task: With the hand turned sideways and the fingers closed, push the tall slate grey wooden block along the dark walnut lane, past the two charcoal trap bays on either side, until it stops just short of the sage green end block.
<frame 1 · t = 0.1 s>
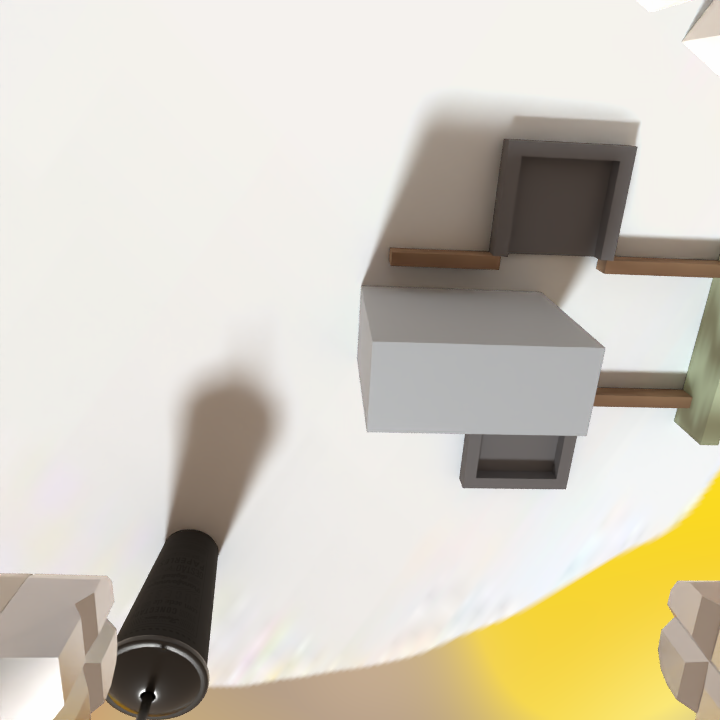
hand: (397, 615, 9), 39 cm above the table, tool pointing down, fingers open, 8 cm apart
lane: (559, 329, 49), on the table
trap bays: (559, 329, 49), on the table
slate block: (447, 325, 49), on the table
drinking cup: (191, 549, 56), on the table
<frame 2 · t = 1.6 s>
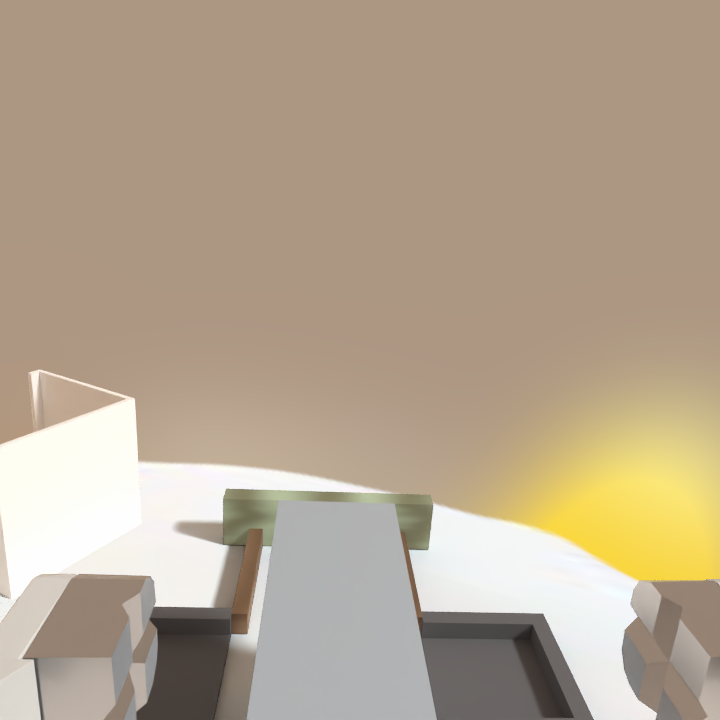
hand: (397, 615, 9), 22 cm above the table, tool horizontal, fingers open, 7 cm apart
lane: (326, 658, 38), on the table
trap bays: (326, 658, 38), on the table
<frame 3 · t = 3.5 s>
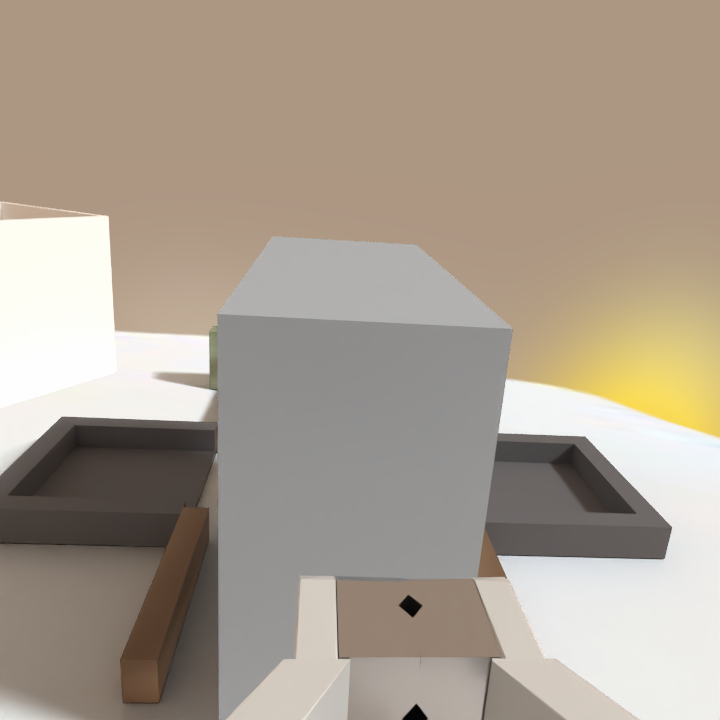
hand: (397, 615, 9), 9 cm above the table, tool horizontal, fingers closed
lane: (330, 474, 31), on the table
trap bays: (330, 474, 31), on the table
slate block: (332, 593, 23), on the table
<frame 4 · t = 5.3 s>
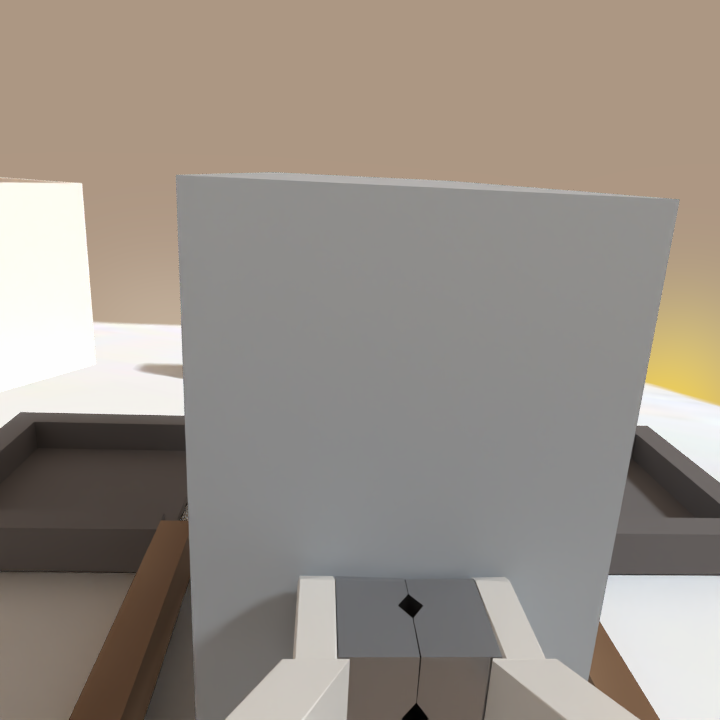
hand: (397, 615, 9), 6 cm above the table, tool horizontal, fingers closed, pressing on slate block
lane: (345, 476, 26), on the table
trap bays: (345, 476, 26), on the table
slate block: (357, 623, 17), on the table, touching gripper
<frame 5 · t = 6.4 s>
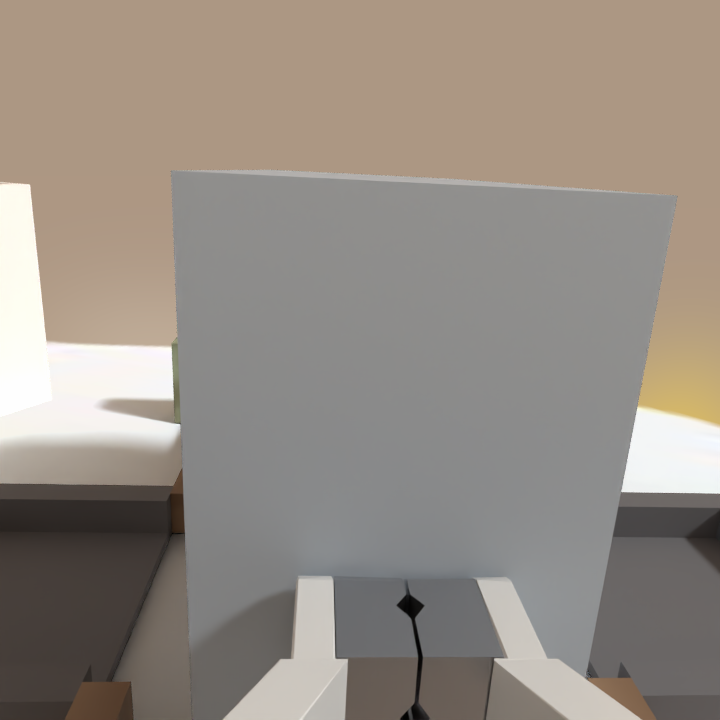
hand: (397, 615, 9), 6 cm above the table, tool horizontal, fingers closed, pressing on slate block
lane: (350, 569, 20), on the table
trap bays: (350, 569, 20), on the table
slate block: (355, 621, 17), on the table, touching gripper
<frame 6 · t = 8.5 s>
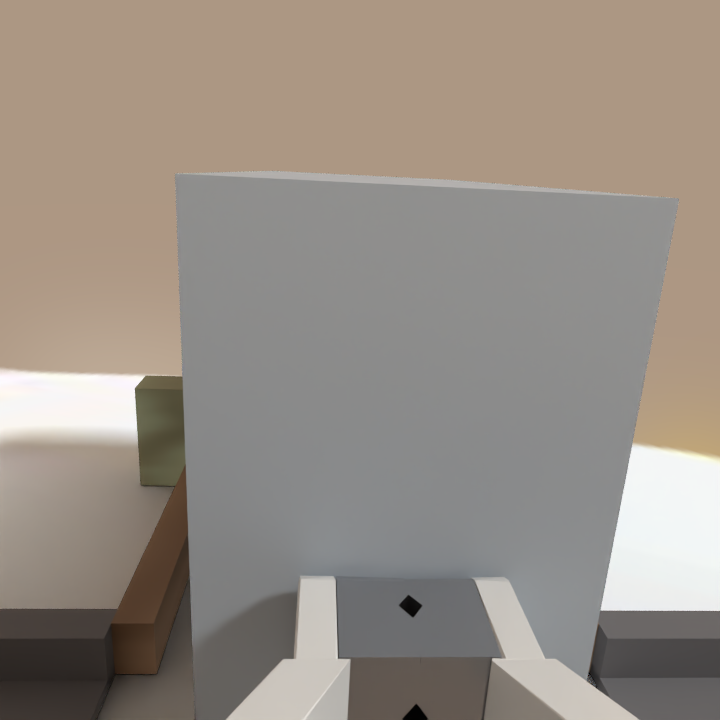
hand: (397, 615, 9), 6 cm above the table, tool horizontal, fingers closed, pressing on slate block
slate block: (356, 621, 17), on the table, touching gripper
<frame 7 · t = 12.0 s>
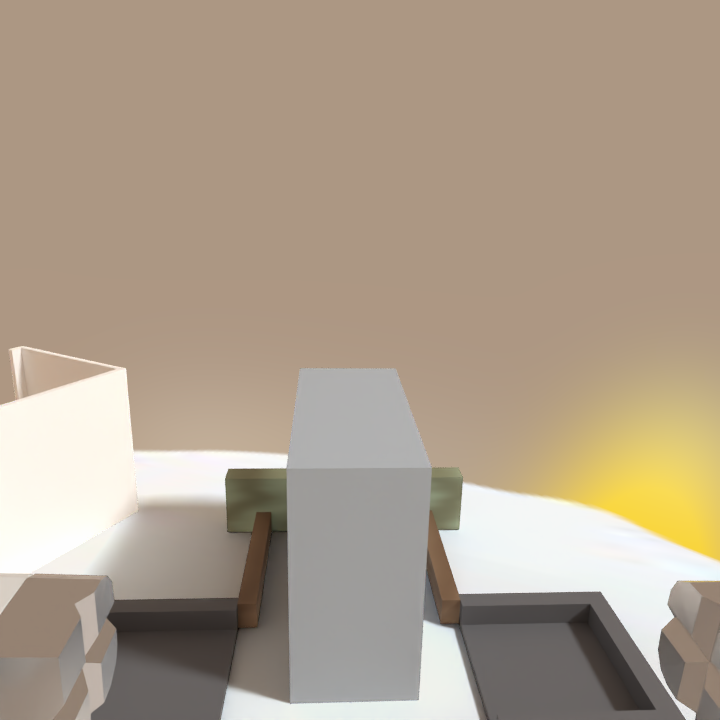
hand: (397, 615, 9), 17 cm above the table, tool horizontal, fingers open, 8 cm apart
lane: (351, 652, 32), on the table
trap bays: (351, 652, 32), on the table
slate block: (349, 604, 36), on the table
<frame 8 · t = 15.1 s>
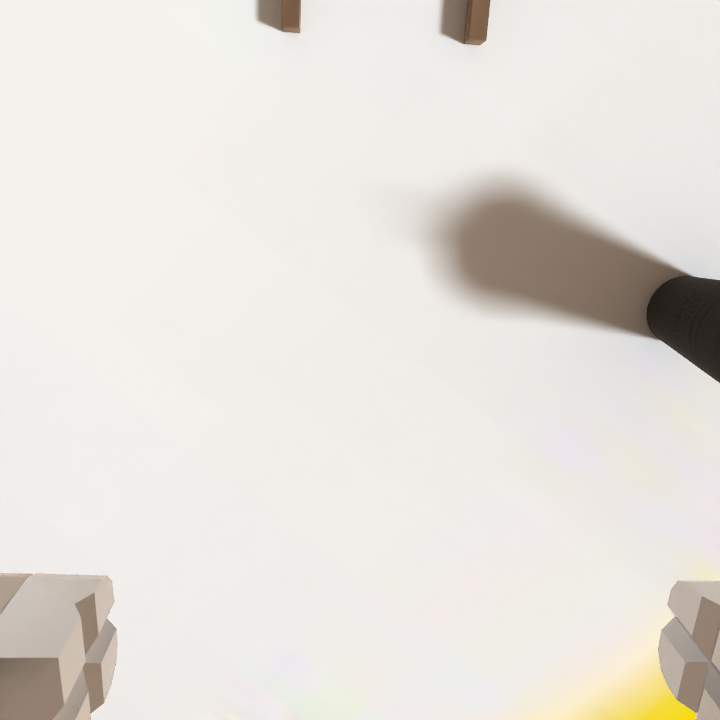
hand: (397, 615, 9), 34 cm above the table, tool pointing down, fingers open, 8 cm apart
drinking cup: (677, 309, 44), on the table
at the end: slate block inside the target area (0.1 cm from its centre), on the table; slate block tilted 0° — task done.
